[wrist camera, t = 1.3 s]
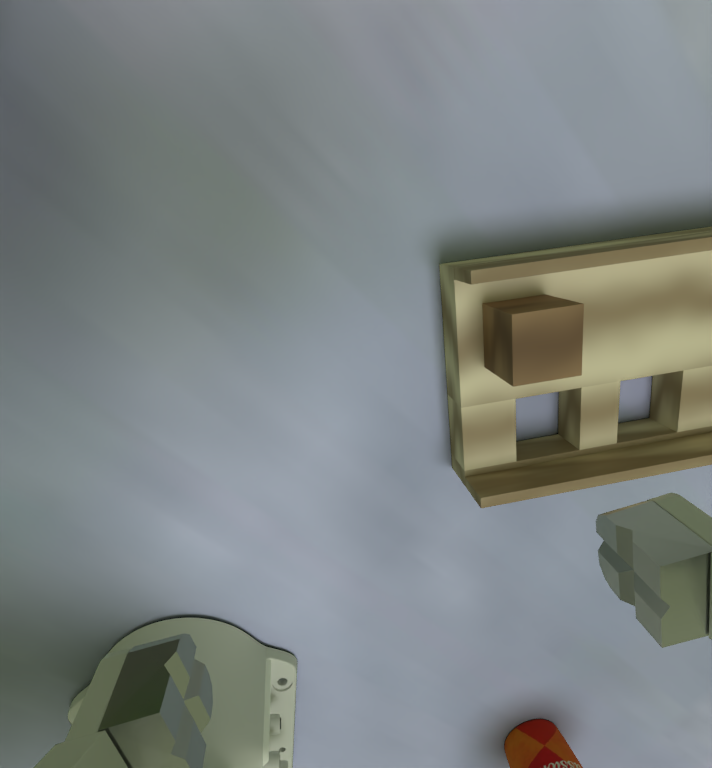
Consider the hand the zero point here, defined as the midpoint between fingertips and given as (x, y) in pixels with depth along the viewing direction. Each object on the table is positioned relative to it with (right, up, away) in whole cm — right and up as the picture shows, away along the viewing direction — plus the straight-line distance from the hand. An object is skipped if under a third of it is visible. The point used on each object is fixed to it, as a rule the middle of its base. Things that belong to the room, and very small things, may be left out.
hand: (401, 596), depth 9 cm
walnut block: (+10, +8, +23) cm, 26 cm away
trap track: (+17, +7, +28) cm, 33 cm away
